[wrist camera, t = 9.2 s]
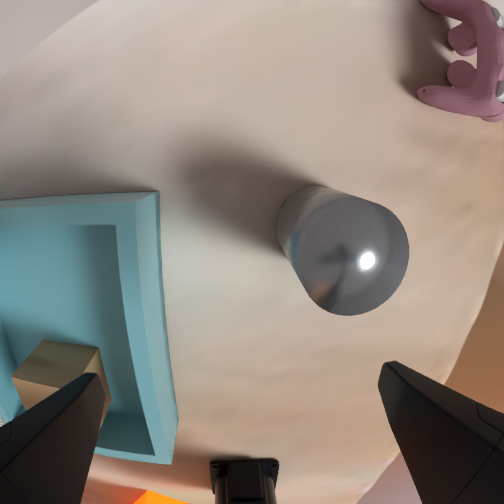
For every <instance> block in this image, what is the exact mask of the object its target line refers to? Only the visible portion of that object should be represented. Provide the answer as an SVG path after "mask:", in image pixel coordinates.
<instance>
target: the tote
mask: <svg viewBox="0 0 504 504" xmlns="http://www.w3.org/2000/svg"><path fill="white" fill-rule="evenodd" d="M42 340H48V341H55V342H62V343H69V344H76V345H84V346H92V347H99V349H100V354H101V358H102V362H103V367H104V371H105V375H106V378H107V382H108V386H109V390H110V393H111V397H112V401H111V404H110V406H109V408H108V411H107V413H106V416H105V418H104V421H103V423H102V426H101V428H100V431H99V436H98V440H97V444H96V447H95V450H94V454H99V455H104V456H109V457H115V458H121V459H127V460H134V461H141V462H149V463H158V464H168V465H172V459H173V452H174V445H175V439H176V432H177V426H178V420H179V419H178V412H177V406H176V399H175V393H174V386H173V378H172V371H171V363H170V354H169V346H168V336H167V327H166V316H165V304H164V292H163V278H162V261H161V240H160V208H159V191H151V192H116V193H93V194H74V195H58V196H44V197H31V198H19V199H8V200H0V417H1V418H2V420H3V422H4V424H6V423H7V422H9V421H12V419H14V418H15V417H17V416H18V415H20V414H22V413H23V412H25V411H26V410H25V408H24V405H23V403H22V401H21V399H20V397H19V395H18V392H17V390H16V388H15V385H14V383H13V380H12V378H11V376H12V375H13V374H14V373H15V371H16V370H17V369H18V368H19V367H20V365H21V364H22V363H23V362H24V361H25V360H26V358H27V357H28V356H29V355H30V354H31V353H32V351H33V350H34V349H35V348H36V347H37V346H38V345H39V343H40V342H41V341H42Z"/></svg>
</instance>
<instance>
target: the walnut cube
mask: <svg viewBox="0 0 504 504" xmlns="http://www.w3.org/2000/svg"><path fill="white" fill-rule="evenodd" d="M85 372H92V373H97V374H98V375H99V376H100V379H101V382H102V385H103V388H104V391H105V404H104V409H103V414H102V420H101V425H100V428H101V426H102V423H103V421H104V418H105V416H106V413H107V411H108V408H109V406H110V404H111V401H112V397H111V393H110V390H109V386H108V382H107V378H106V375H105V371H104V367H103V362H102V358H101V354H100V349H99V347H92V346H84V345H76V344H69V343H62V342H55V341H48V340H42V341H41V342H40V343H39V345H38V346H37V347H36V348H35V349H34V350H33V351H32V353H31V354H30V355H29V356H28V357H27V358H26V360H25V361H24V362H23V363H22V364H21V365H20V367H19V368H18V369H17V370H16V371H15V373H14V374H13V375H12V376H11V378H12V380H13V383H14V385H15V388H16V390H17V392H18V395H19V397H20V399H21V401H22V403H23V405H24V408H25V410H28V409H29V408H31V407H33V406H34V405H36V404H37V403H39V402H40V401H42V400H43V399H45V398H47V397H48V396H50V395H51V394H53V393H54V392H56V391H57V390H59V389H60V388H62V387H64V386H65V385H67V384H68V383H70V382H71V381H73V380H74V379H76V378H77V377H79V376H81V375H82V374H84V373H85Z"/></svg>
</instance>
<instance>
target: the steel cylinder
mask: <svg viewBox="0 0 504 504" xmlns="http://www.w3.org/2000/svg"><path fill="white" fill-rule="evenodd" d="M276 233H277V238H278V241H279V243H280V246H281V247H282V249H283V251H284V253H285V254H286V256H287V258H288V260H289V262H290V263H291V265H292V267H293V269H294V270H295V272H296V274H297V276H298V278H299V279H300V281H301V283H302V285H303V286H304V288H305V290H306V292H307V293H308V295H309V297H310V298H311V299H312V300H313V301H314V302H315V303H316V304H317V305H318V306H319V307H321V308H322V309H324V310H326V311H328V312H330V313H333V314H337V315H343V316H352V315H359V314H363V313H366V312H368V311H371V310H373V309H375V308H377V307H378V306H380V305H381V304H383V303H384V302H385V301H386V300H387V299H389V298H390V296H391V295H392V294H393V293H394V292H395V291H396V289H397V288H398V286H399V285H400V283H401V281H402V279H403V277H404V275H405V272H406V269H407V265H408V260H409V243H408V238H407V234H406V232H405V229H404V227H403V225H402V224H401V222H400V220H399V219H398V218H397V217H396V216H395V215H394V214H393V213H392V212H391V211H390V210H388V209H387V208H386V207H384V206H382V205H379V204H377V203H374V202H371V201H368V200H365V199H362V198H359V197H356V196H353V195H350V194H346V193H343V192H340V191H337V190H334V189H331V188H327V187H323V186H311V187H306V188H303V189H301V190H298V191H297V192H295V193H294V194H292V195H291V196H290V197H289V198H288V199H287V200H286V201H285V202H284V204H283V205H282V207H281V209H280V211H279V214H278V217H277V222H276Z"/></svg>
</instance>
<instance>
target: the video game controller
mask: <svg viewBox="0 0 504 504" xmlns="http://www.w3.org/2000/svg"><path fill="white" fill-rule="evenodd" d="M420 1H421V3H422V4H423V5H425V6H426V7H427V8H429V9H430V10H433V11H435V12H437V13H439V14H442V15H444V16H447V17H450V18H453V19H456V20H459V21H462V22H463V23H461V24H460V25H458V26H456V27H454V28H452V29H451V30H450V31H449V33H448V42H449V44H450V45H451V47H452V48H453V49H454V50H455V51H456V52H457V53H458V54H459V55H461V56H471V55H473V54H475V53H477V69H475V68H474V67H473V66H472V65H471V64H470V63H468V62H466V61H463V60H457V61H454V62H453V63H451V65H450V66H449V68H448V71H447V78H448V80H449V81H450V83H451V84H452V85H453V86H454V87H455V88H452V87H445V86H438V85H430V86H424V87H421V88H419V89H418V90H417V96H418V98H419V99H420V100H421V101H423V102H424V103H426V104H428V105H430V106H433V107H435V108H438V109H441V110H444V111H448V112H453V113H458V114H463V115H469V116H474V117H480V118H481V119H483V120H485V121H488V122H498V121H501V120H503V119H504V17H503V16H502V15H501V14H500V13H499V11H498V10H497V9H496V8H494V7H492V6H491V5H490V4H488V3H487V2H485V1H482V0H420Z"/></svg>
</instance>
